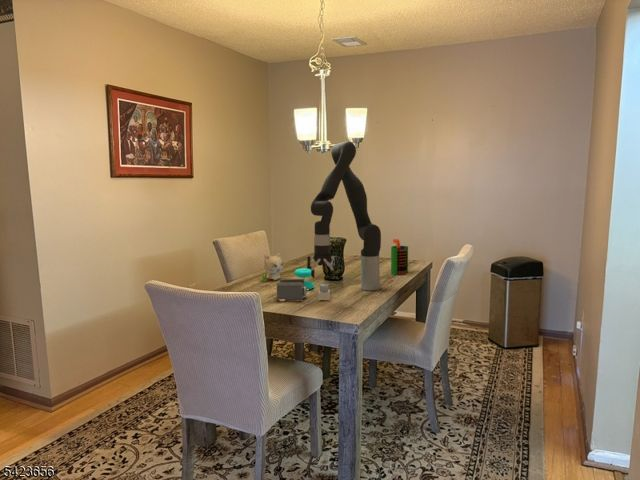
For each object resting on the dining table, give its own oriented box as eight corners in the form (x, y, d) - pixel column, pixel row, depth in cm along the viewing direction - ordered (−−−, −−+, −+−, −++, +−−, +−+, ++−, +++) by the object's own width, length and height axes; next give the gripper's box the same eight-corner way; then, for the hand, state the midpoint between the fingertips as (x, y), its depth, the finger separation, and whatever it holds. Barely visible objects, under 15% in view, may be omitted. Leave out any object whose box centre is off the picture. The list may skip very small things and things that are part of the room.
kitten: (267, 283, 253) (266, 256, 251) (257, 280, 261) (256, 254, 259) (289, 279, 263) (288, 253, 260) (279, 276, 270) (278, 251, 268)
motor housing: (307, 295, 226) (307, 278, 225) (305, 301, 216) (304, 283, 215) (280, 295, 227) (280, 278, 226) (277, 301, 217) (276, 283, 216)
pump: (329, 298, 221) (329, 283, 220) (329, 300, 216) (328, 286, 215) (319, 298, 221) (319, 283, 220) (318, 300, 216) (318, 286, 215)
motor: (401, 276, 262) (401, 241, 259) (387, 274, 268) (387, 240, 265) (409, 272, 270) (409, 238, 267) (396, 271, 275) (395, 237, 273)
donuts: (316, 270, 236) (297, 272, 232) (316, 289, 237) (298, 291, 234) (309, 267, 245) (291, 268, 242) (310, 285, 246) (292, 287, 243)
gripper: (338, 242, 218) (338, 276, 220) (308, 242, 219) (308, 276, 222) (337, 245, 210) (337, 279, 213) (306, 244, 212) (306, 279, 214)
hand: (322, 277), depth 217 cm, fingers open, 8 cm apart
